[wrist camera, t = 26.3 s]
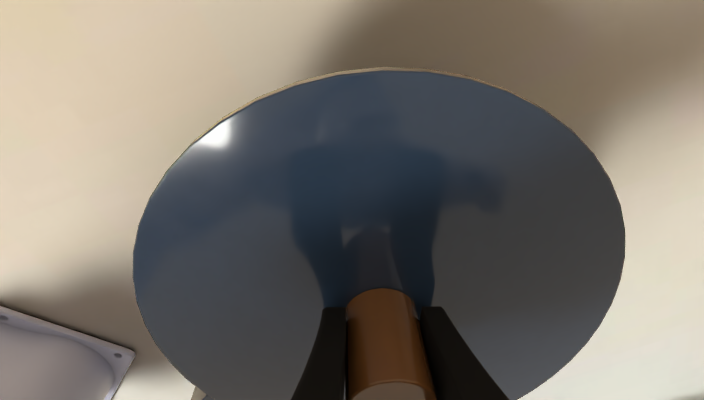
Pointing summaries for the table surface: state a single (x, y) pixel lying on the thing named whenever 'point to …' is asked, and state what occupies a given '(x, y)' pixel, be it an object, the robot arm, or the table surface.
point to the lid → (378, 236)
